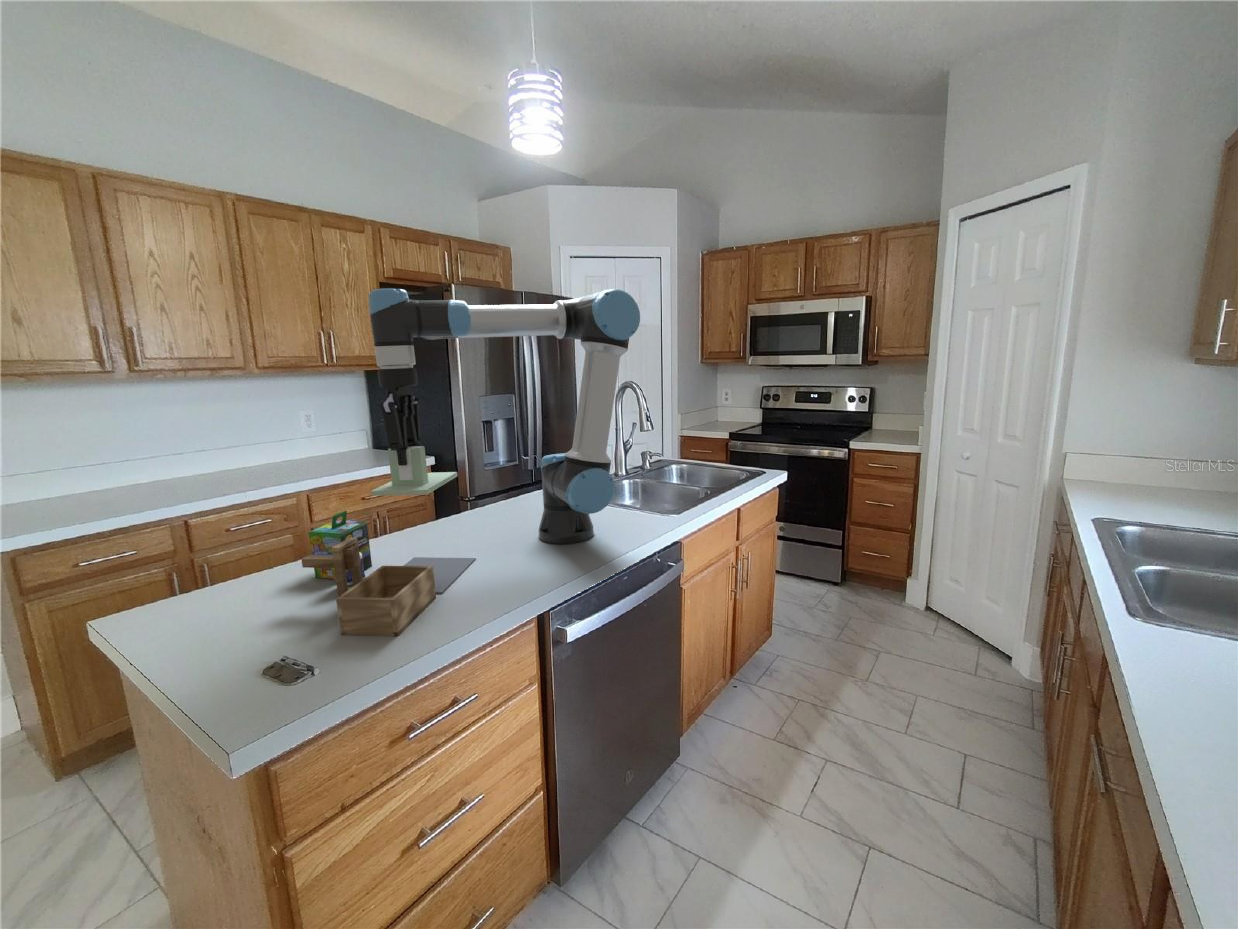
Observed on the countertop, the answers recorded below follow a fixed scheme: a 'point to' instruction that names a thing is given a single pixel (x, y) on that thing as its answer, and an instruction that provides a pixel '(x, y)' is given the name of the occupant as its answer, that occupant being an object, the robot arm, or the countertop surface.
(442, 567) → the mat
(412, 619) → the wooden storage box
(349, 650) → the countertop surface
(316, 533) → the chalk box
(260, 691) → the countertop surface
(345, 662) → the countertop surface
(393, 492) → the lid
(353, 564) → the brown wooden bar
